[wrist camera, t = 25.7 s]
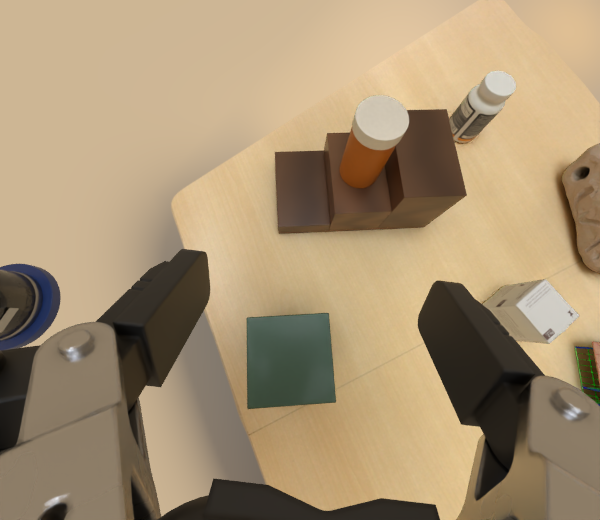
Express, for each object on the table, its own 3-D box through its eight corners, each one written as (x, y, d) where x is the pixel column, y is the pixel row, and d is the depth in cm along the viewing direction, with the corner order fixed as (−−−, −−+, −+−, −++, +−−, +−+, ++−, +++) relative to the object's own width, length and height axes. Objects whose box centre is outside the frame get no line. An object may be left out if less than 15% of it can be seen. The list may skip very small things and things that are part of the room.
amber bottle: (340, 189, 37) (358, 141, 27) (336, 154, 38) (352, 95, 28) (381, 188, 37) (413, 139, 27) (376, 152, 38) (404, 94, 29)
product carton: (502, 285, 41) (546, 277, 34) (530, 317, 40) (582, 315, 33) (475, 308, 40) (515, 304, 33) (504, 341, 39) (551, 345, 32)
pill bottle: (478, 125, 49) (524, 76, 39) (469, 149, 47) (514, 104, 38) (449, 113, 49) (488, 62, 39) (439, 136, 48) (477, 88, 38)
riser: (278, 233, 42) (274, 202, 31) (275, 163, 45) (271, 113, 35) (423, 227, 43) (467, 195, 33) (411, 158, 46) (446, 109, 36)
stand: (263, 378, 37) (247, 409, 23) (262, 320, 39) (246, 317, 25) (319, 374, 37) (336, 402, 24) (315, 317, 39) (328, 312, 26)
